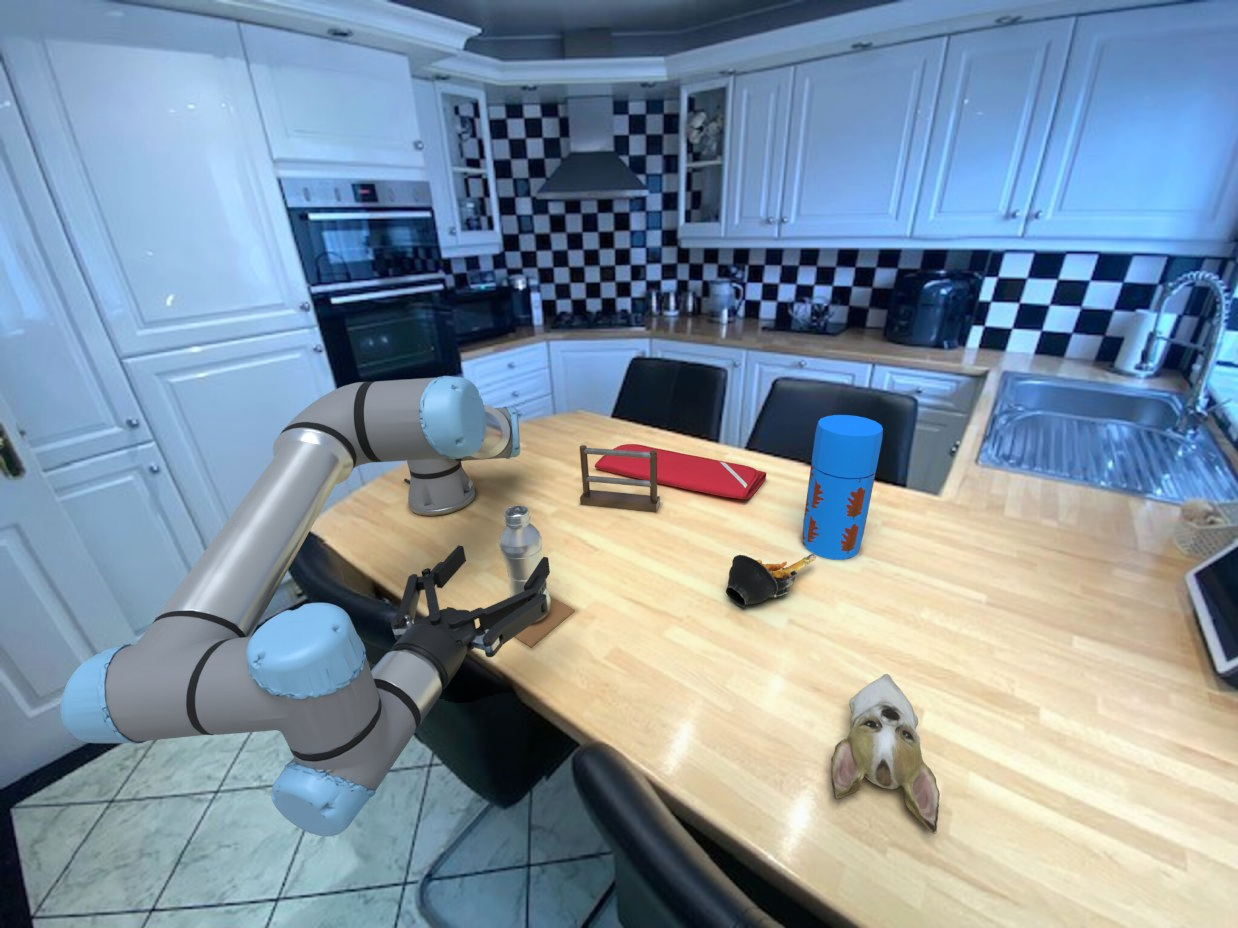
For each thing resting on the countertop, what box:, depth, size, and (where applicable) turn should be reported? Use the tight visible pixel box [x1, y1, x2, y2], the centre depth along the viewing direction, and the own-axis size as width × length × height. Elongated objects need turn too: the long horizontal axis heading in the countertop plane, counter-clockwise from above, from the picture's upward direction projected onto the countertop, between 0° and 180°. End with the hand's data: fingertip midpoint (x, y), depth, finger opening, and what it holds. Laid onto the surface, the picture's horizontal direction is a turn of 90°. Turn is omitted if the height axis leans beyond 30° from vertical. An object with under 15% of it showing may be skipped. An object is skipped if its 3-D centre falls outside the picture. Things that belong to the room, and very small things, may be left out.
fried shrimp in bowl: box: [725, 553, 817, 608], centre depth 87 cm, size 9×11×18 cm
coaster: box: [514, 596, 576, 648], centre depth 84 cm, size 10×10×1 cm
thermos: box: [801, 414, 884, 561], centre depth 94 cm, size 11×11×25 cm
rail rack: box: [579, 444, 661, 513], centre depth 114 cm, size 18×4×14 cm, turn 75°
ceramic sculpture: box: [830, 673, 941, 835], centre depth 58 cm, size 11×9×15 cm
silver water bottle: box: [498, 504, 551, 623], centre depth 80 cm, size 6×7×20 cm
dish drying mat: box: [594, 443, 767, 500], centre depth 128 cm, size 16×41×4 cm, turn 58°
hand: (503, 558), depth 74 cm, fingers open, 13 cm apart
